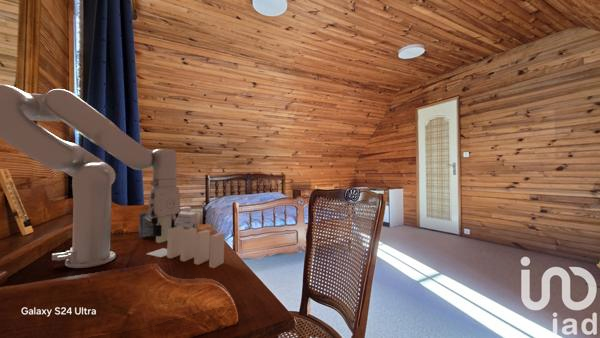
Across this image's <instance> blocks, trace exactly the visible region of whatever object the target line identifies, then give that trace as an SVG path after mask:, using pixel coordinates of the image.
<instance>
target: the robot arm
mask: <svg viewBox="0 0 600 338" xmlns="http://www.w3.org/2000/svg"><path fill="white" fill-rule="evenodd" d="M36 121H38V122H42V121H43V122H45V121H46V122H63V123H64V124H65V125H67V126H69V127H70V128H71V129H73V130H74V131H76V132H77V133H79V134H80V135H82V136H83V137H84V138H86V139H88V140H89V141H90V142H92V143H93V144H94V145H96V146H99V147H100V148H102V150H104V151H106V152H107V153H108V154H110V155H112V157H114V158H115V159H117V160H118V161H120V162H121V163H123V164H124V165H126V166H127V167H129V168H131V169H133V170H135V171H137V170H138V171H142V170H146V169H147V170H148V169H152V180H151V181H150V185H151V186H152V188H151V189H150V193H149V198H148V211H146V212H147V214H146V215H145V219H147V220H149V222H151V224H152V225H153V235H154V236H158V237H160V236H161V228H162V226H161V225H160V222H161V218H162V217H164V216H169V215H172V223H171V228H173V227H175V222H174V221H176V218H177V217H178V214H179V213H180V212H181V211H182V210H181V209H180V207H181V196H180V190H179V187H178V186H177V169H178V168H177V164H178V163H177V161H178V160H177V157H178V154H177V152H176V150H175V149H169V148H167V149H165V148H158V149H157V148H156V149H150V148H146V147H144V146H143V145H141V144H140V143H139V142H138V141H136V140H135V139H133V138H132V137H131V136H129V135H128V134H127V133H125V132H124V131H123V130H121V129H120V128H119V127H118V126H117V125H116V124H115V123H114V122H112V120H111V119H109V118H108V117H106V116H104V115H103V114H102V113H100V112H99V111H97V109H95V108H94V107H92V106H91V105H89V104H88V103H87V102H86V101H84V100H83V99H81V98H80V97H79V96H77V95H76V94H74V93H73V92H71V91H69V90H66V89H62V88H55V89H52V90H49V91H48V92H46V93H45V94H41V93H40V94H39V93H27V92H25V91H23V90H21V89H19V88H17V87H15V86H12V85H8V84H4V83H3V84H2V83H0V140H1V141H2V142H3V141H4V143H6V144H8V145H10V146H12V148H15V149H16V150H18V151H19V152H20V153H23V155H26V156H28V157H29V158H31V159H33V160H34V161H36V162H37V163H38V164H40V165H42V166H43V167H45V168H47V169H49V170H51V171H54V172H63V173H65V174H67V175H69V176H70V177H72V180H71V181H72V182H71V183H72V184H71V188H72V198H73V199H72V200H73V203H72V204H73V209H72V211H73V212H72V214H73V215H72V247H70V250H66V251H65V252H55V253H52V254H51V261H57V262H59V261H65V262H64V264H65V266H66V267H67V268H72V269H84V268H92V267H98V266H101V265H102V266H103V265H105V264H108V263H110V262H112V261H113V260H115V259H116V253H115V252H114V251H112V250H111V232H112V230H111V229H112V228H111V227H112V224H111V223H112V185H113V184H114V183H115V180H116V171H115V170H114V168H113V167H112V166H111V165H109V163H107V162H105V161H103V160H102V159H101V158H100V157H97V156H96V155H94V154H93V153H91V152H89V151H88V150H86V149H85V148H84V147H82V146H80V145H78V144H76V143H74V142H70V141H67V140H63V139H62V138H60V137H58V136H56V135H55V134H53V133H51V132H50V131H48V130H47V129H45V128H44V127H43V126H41V125H39V124H38V123H36ZM152 216H153V217H152ZM156 218H157V220H156Z"/></svg>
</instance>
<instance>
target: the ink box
mask: <svg viewBox="0 0 600 338" xmlns="http://www.w3.org/2000/svg"><path fill="white" fill-rule="evenodd" d="M198 215H199V213H198V212H193V211H191V212H182V211H181V212H180V213H179V214H178V217H177V218H176V221H174V222H175V227H177V226H183V230H187V229H190V228H196V233H198V221H199V219H198V218H199V217H198Z"/></svg>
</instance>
